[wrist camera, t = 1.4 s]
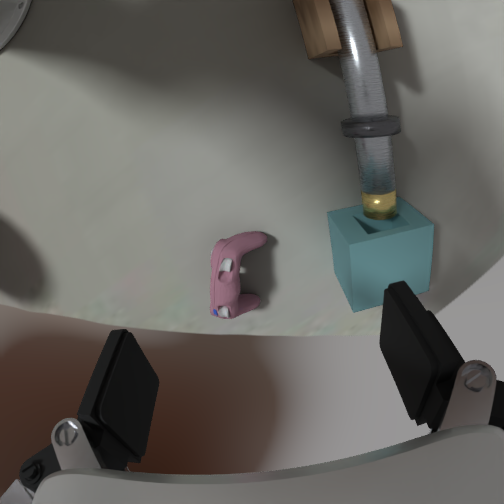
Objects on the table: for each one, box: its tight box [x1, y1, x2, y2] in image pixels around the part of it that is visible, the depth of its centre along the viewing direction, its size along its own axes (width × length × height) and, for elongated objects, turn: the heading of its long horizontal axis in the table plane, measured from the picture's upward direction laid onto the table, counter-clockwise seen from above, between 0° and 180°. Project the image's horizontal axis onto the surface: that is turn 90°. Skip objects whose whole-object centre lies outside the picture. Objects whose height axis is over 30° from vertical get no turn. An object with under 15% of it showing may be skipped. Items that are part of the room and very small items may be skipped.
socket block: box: [327, 197, 434, 313], centre depth 31 cm, size 8×9×8 cm
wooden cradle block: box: [293, 0, 403, 59], centre depth 20 cm, size 10×7×7 cm
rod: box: [329, 0, 401, 220], centre depth 22 cm, size 26×5×5 cm, turn 13°
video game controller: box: [210, 231, 267, 319], centre depth 34 cm, size 10×5×7 cm, turn 176°
